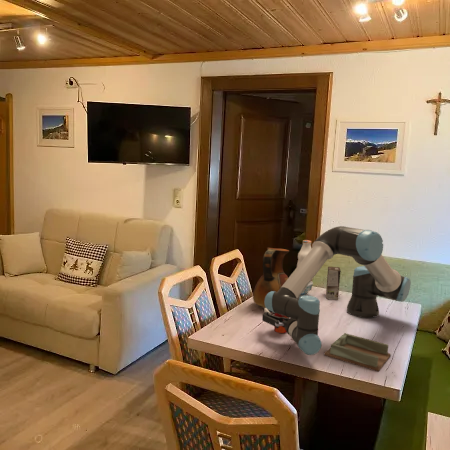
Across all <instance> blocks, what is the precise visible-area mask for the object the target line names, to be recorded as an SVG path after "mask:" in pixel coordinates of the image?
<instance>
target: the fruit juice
mask: <svg viewBox="0 0 450 450" xmlns="http://www.w3.org/2000/svg"><path fill="white" fill-rule="evenodd" d="M311 249H312V240H308V239H304V240H302V246H301V248H300V250H299V251H298V253H297V259H298V260H297V264H296V268H297V267H298V266H299V264H300V263H301V262H302V261H303V259H304V258H305V257H306V256H307V254H308V253H309V252H310V251H311ZM313 280H314V278H313V279H312V280H311V281H312V282H313ZM312 289H313V287H312V288H311V290H312Z"/></svg>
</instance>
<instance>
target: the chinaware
mask: <svg viewBox="0 0 450 450" xmlns="http://www.w3.org/2000/svg"><path fill="white" fill-rule="evenodd" d="M313 285H314V282H313V280H312V281H310V283H309V284H308V285H307V287H306V288H305V289H304V291H303V292H302V293H301V294H300V296H299V297H298V298H300V297H301V296H304V295H307V294H308V293H309V292H310V291H311V290H312V289H313ZM311 288H312V289H311Z"/></svg>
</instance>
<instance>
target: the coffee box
mask: <svg viewBox="0 0 450 450" xmlns="http://www.w3.org/2000/svg"><path fill="white" fill-rule="evenodd" d="M341 273H342V272H341V268H340V267H339V266H328V267H327V277H326V289H325V290H326V291H325V298H326V299H327V300H335V301H338V300H339V292H340V283H341Z"/></svg>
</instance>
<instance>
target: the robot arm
mask: <svg viewBox="0 0 450 450" xmlns="http://www.w3.org/2000/svg"><path fill="white" fill-rule="evenodd" d="M383 242H384V240H383V238H382V235H381V234H379V232H376V231H374V230H371V229H361V228H354V227H348V226H342V225H340V226H335V227H332V228H331V229H328V230H327V231H325V232H323V233H321V235H319V236H318V237H317V238H316V239H315V240H314V241H313V243H311V248H312V249H311V251H310V252H309V253H308V254H307V256H306V257H305V258H304V259H303V261H302V262H301V263H300V264H299V266H298V267H297V266H296V268H295V269H294V270H293V272H292V273H291V274H290V275H289V277H288V279H287V281H286V282H285V283H284V284H283V286H282V287H281V288H280V289H279V290H278V292H276V291H271V292H269V293H268V294H267V295H266V297H265V301H264V303H265V307H266V308H264V307H263V309H264V311H263V312H264V313H263V314H262V316H261V317H262V319H261V321H263V322H264V323H267V324H269V325H271V326H273V327H274V326H275V327H276V328H279V326H282V327H284V328H285V330H286V333H287V335H288V336H289V337H290V338H291V339H292V340H293V342H295V344H296V345H297V347H298V349H300V351H302V353H304V354H306V355H308V356H314V355H315V354H318V353H319V351H320V350H321V347H322V340H321V338H320V337H319V320H320V312H321V309H320V305H321V304H320V300H319V298H318V297H317V296H314V295H307V294H305V295H304V296H301V297H299V296H300V294H301V293H302V292H303V291H304V289H305V288H306V287H307V285H308V284H309V283H310V281H311V280H312V279H313V280H314V277H315V276H317V273H319V271H320V270H321V268H322V267H323V266H324V265H325V263H326V262H327V260H331V259H332V258H333V257H334V256H335V255H341V256H347V257H351V258H353V260H354V261H355V262H356V263H358V264H359V265H360V266H356V267H355V268H354V270H353V276H352V289H351V296H350V299H349V301H348V304H347V305H346V312H347V313H348V314H349V315H352V316H355V317H359V318H365V319H367V318H368V319H373V318H377V317H378V316H380V315H379V314H380V309H379V305H378V301H377V300H378V299H377V298H378V297H381V298H385V299H388V300H392V301H395V302H400V303H401V302H403V303H404V301H406V299H407V298H408V296H409V293H410V290H411V283H412V282H411V279H410V278H409V277H407V276H403V275H401V274H400V273H399V271H397V269H394V268H392V267H391V266H390V264H389V262H388V261H387V260H386V259H385V257H384V255H383V251H384V243H383ZM313 280H312V281H313ZM271 312H272V313H277V314H280V315H283V316H287V317H289V318H285V317H278V316H274V314H271ZM283 319H284V321H283Z"/></svg>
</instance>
